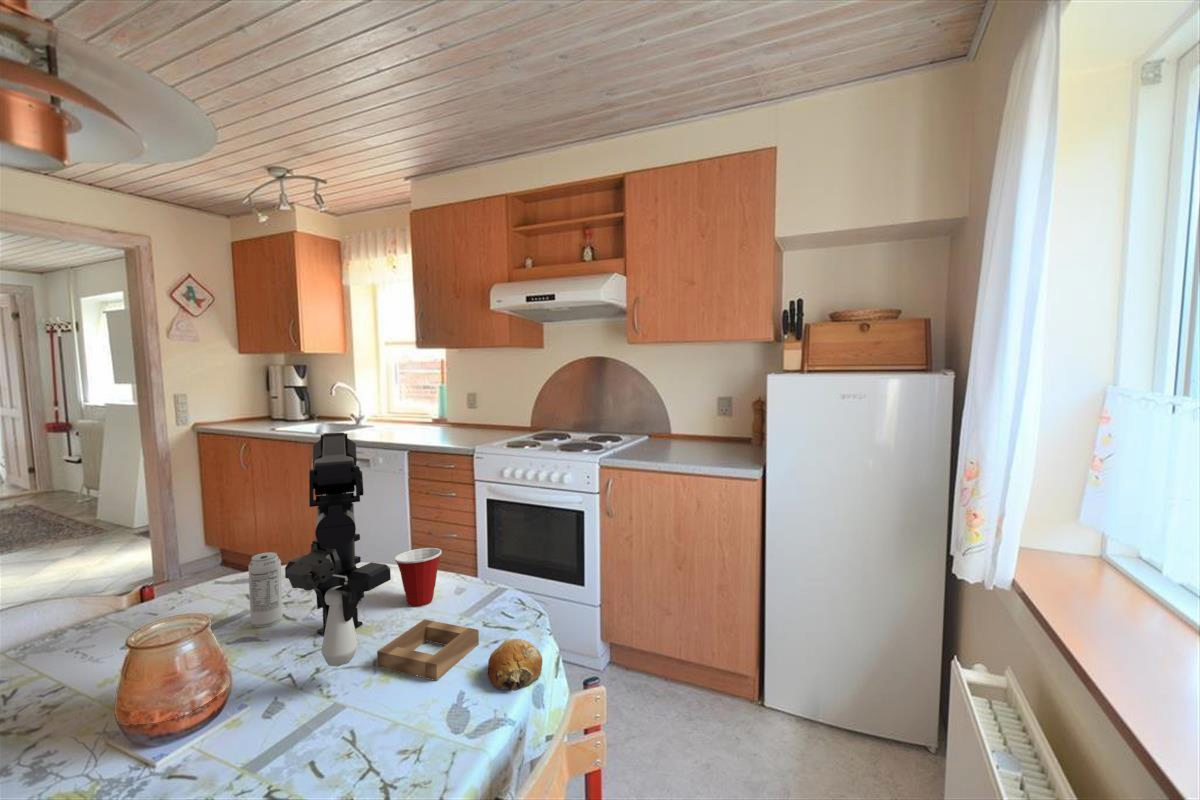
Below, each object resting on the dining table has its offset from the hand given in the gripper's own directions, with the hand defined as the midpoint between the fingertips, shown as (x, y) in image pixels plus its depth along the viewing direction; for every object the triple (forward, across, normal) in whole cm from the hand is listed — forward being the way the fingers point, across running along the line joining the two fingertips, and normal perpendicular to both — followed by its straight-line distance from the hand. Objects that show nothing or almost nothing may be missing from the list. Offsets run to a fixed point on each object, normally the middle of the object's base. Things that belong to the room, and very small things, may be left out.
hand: (339, 618), depth 92 cm
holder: (+12, +9, +13) cm, 20 cm away
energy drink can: (+12, -34, +12) cm, 38 cm away
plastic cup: (+12, -9, +32) cm, 35 cm away
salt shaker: (+8, 0, 0) cm, 8 cm away
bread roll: (+12, +28, +13) cm, 33 cm away
